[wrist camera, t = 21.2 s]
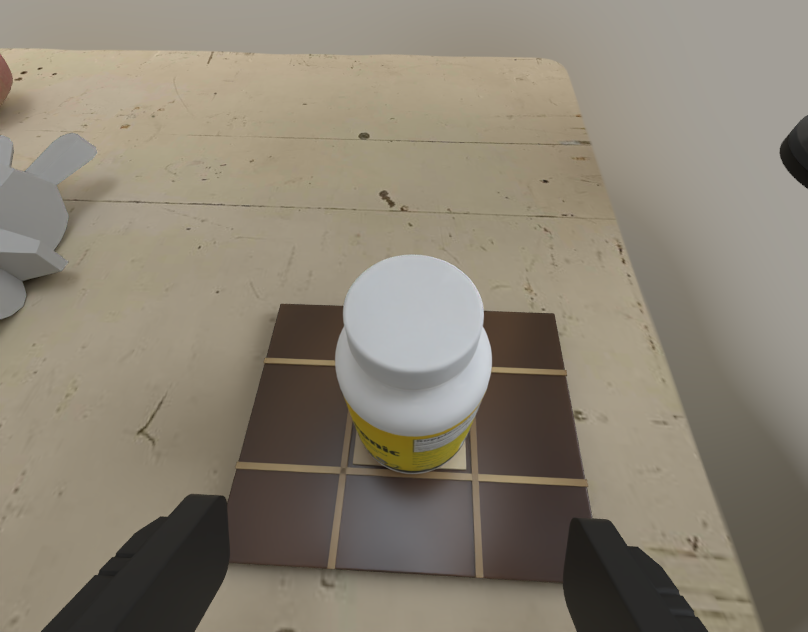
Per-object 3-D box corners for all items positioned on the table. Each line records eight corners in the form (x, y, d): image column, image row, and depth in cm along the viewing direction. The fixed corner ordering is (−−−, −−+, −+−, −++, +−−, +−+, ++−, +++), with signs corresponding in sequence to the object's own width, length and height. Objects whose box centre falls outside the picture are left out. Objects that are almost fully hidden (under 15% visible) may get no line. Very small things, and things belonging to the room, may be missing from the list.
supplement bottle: (339, 395, 20) (291, 271, 12) (433, 352, 21) (449, 213, 13) (385, 500, 17) (364, 434, 9) (489, 443, 19) (553, 341, 10)
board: (549, 322, 24) (555, 311, 23) (595, 585, 17) (607, 585, 16) (284, 312, 24) (279, 301, 23) (220, 562, 17) (209, 561, 16)
